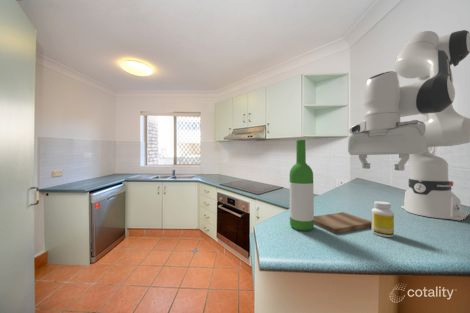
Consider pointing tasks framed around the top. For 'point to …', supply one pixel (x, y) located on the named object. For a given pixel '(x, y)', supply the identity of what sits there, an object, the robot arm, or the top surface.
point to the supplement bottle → (382, 219)
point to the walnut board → (341, 222)
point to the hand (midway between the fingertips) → (381, 169)
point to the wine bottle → (301, 191)
